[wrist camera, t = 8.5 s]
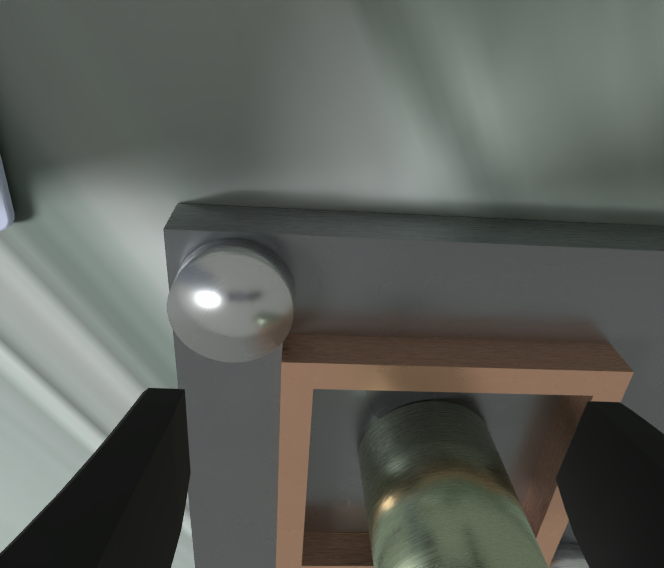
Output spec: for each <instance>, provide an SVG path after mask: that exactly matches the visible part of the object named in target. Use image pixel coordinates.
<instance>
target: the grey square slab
mask: <svg viewBox="0 0 664 568" xmlns="http://www.w3.org/2000/svg"><path fill="white" fill-rule="evenodd" d="M164 240H165V251H166V261H167V272H168V282H169V295H168V300H167V313H168V318H169V321H170V324H171V326H172V328H173V336H174V346H175V357H176V368H177V378H178V389H185V399H186V413H187V427H188V441H189V456H190V470H191V474H190V480H189V486H188V496H189V506H190V517H191V528H192V538H193V549H194V560H195V568H374V565H373V558H372V551H371V544H370V537H369V530H368V523H367V516H366V509H365V502H364V495H363V488H362V481H361V474H360V467H359V459H358V453H359V447H360V444H361V441H362V439H363V437H364V435H365V434H366V433H367V431H368V430H369V429H370V428H371V426H372V425H373V424H374V423H375V422H377V421H378V420H379V419H380V418H382V417H383V416H385V415H386V414H388V413H390V412H392V411H393V410H395V409H398V408H400V407H403V406H406V405H409V404H413V403H418V402H425V401H445V402H451V403H456V404H459V405H462V406H465V407H467V408H469V409H470V410H472V411H474V412H475V413H476V414H478V415H479V416H480V417H481V418H482V419H483V421H484V422H485V424H486V426H487V428H488V430H489V432H490V434H491V437H492V439H493V441H494V444H495V446H496V448H497V451H498V453H499V455H500V457H501V460H502V462H503V464H504V467H505V469H506V471H507V474H508V476H509V478H510V480H511V483H512V485H513V487H514V490H515V492H516V494H517V496H518V499H519V501H520V503H521V506H522V508H523V510H524V513H525V515H526V517H527V519H528V522H529V524H530V526H531V529H532V531H533V533H534V536H535V538H536V540H537V542H538V545H539V547H540V549H541V552H542V554H543V556H544V558H545V561H546V563H547V565H548V568H589V566H588V564H587V562H586V560H585V558H584V555H583V553H582V551H581V549H580V547H579V545H578V542H577V540H576V538H575V536H574V534H573V531H572V528H571V525H570V522H569V519H568V516H567V514H566V511H565V508H564V505H563V501H562V498H561V495H560V492H559V488H558V485H557V482H556V477H557V474H558V472H559V469H560V467H561V464H562V462H563V460H564V457H565V455H566V452H567V450H568V448H569V445H570V443H571V440H572V438H573V435H574V433H575V431H576V428H577V426H578V423H579V421H580V419H581V416H582V414H583V411H584V409H585V407H586V404H587V402H588V401H599V402H620V403H622V404H623V405H625V406H626V407H628V408H629V409H631V410H632V411H634V412H635V413H636V414H638V415H639V416H640V417H642V418H643V419H645V420H646V421H647V422H649V423H650V424H651V425H653V426H654V427H655V428H657V429H658V430H659V431H661V432H662V433H663V434H664V226H643V225H622V224H601V223H580V222H559V221H538V220H517V219H496V218H475V217H454V216H433V215H412V214H391V213H370V212H349V211H328V210H307V209H286V208H265V207H244V206H223V205H202V204H181V203H178V204H177V206H176V207H175V209H174V211H173V213H172V215H171V216H170V218H169V220H168V222H167V224H166V225H165V227H164Z"/></svg>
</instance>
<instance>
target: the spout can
mask: <svg viewBox="0 0 664 568" xmlns="http://www.w3.org/2000/svg"><path fill="white" fill-rule="evenodd" d="M358 459H359V467H360V474H361V481H362V488H363V495H364V502H365V509H366V516H367V523H368V530H369V537H370V544H371V551H372V558H373V565H374V568H548V565H547V563H546V561H545V558H544V556H543V554H542V552H541V549H540V547H539V545H538V542H537V540H536V538H535V536H534V533H533V531H532V529H531V526H530V524H529V522H528V519H527V517H526V515H525V513H524V510H523V508H522V506H521V503H520V501H519V499H518V496H517V494H516V492H515V490H514V487H513V485H512V483H511V480H510V478H509V476H508V474H507V471H506V469H505V467H504V464H503V462H502V460H501V457H500V455H499V453H498V451H497V448H496V446H495V444H494V441H493V439H492V437H491V434H490V432H489V430H488V428H487V426H486V424H485V422H484V421H483V419H482V418H481V417H480V416H479V415H478V414H476V413H475V412H474V411H472V410H470V409H469V408H467V407H465V406H462V405H459V404H456V403H451V402H445V401H425V402H418V403H413V404H409V405H406V406H403V407H400V408H398V409H395V410H393V411H392V412H390V413H388V414H386V415H385V416H383V417H382V418H380V419H379V420H378V421H377V422H375V423H374V424H373V425H372V426H371V428H370V429H369V430H368V431H367V433H366V434H365V435H364V437H363V439H362V441H361V444H360V447H359V453H358Z"/></svg>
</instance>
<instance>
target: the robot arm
mask: <svg viewBox="0 0 664 568" xmlns="http://www.w3.org/2000/svg"><path fill="white" fill-rule="evenodd" d="M14 219H15V214H14V209H13V205H12V201H11V197H10V193H9V188H8V184H7V180H6V176H5V172H4V167H3V163H2V159H1V155H0V231H3V230H5V229H6V228H8V227H9V226H10V225H11V224H12V223H13V221H14ZM190 474H191V470H190V456H189V441H188V427H187V413H186V399H185V389H163V388H148V389H147V390H146V391H144V392H143V393H142V394H141V396H140V397H139V398H138V399H137V401H136V402H135V403H134V405H133V406H132V407H131V408H130V410H129V411H128V412H127V414H126V415H125V416H124V417H123V419H122V420H121V421H120V422H119V424H118V425H117V426H116V427H115V429H114V430H113V431H112V432H111V433H110V435H109V436H108V437H107V438H106V439H105V441H104V442H103V443H102V444H101V445H100V447H99V448H98V449H97V450H96V451H95V453H94V454H93V455H92V456H91V457H90V458H89V459H88V461H87V462H86V463H85V464H84V465H83V466H82V467H81V469H80V470H79V471H78V472H77V473H76V474H75V475H74V476H73V478H72V479H71V480H70V481H69V482H68V483H67V484H66V486H65V487H64V488H63V489H62V490H61V491H60V492H59V493H58V494H57V495H56V497H55V498H54V499H53V500H52V501H51V502H50V503H49V504H48V505H47V506H46V507H45V508H44V509H43V510H42V511H41V512H40V513H39V514H38V515H37V516H36V517H35V518H34V519H33V520H32V521H31V522H30V524H29V525H28V526H27V527H26V528H25V529H24V530H23V531H22V532H21V533H20V534H19V535H18V536H17V537H16V538H15V539H14V540H13V541H12V542H11V543H10V544H9V545H8V546H7V547H6V548H5V549H4V550H3V551H2V552H1V553H0V568H171V565H172V561H173V558H174V554H175V551H176V547H177V543H178V540H179V536H180V532H181V527H182V522H183V516H184V510H185V505H186V498H187V492H188V486H189V480H190ZM556 482H557V485H558V488H559V492H560V495H561V498H562V501H563V505H564V508H565V511H566V514H567V516H568V519H569V522H570V525H571V528H572V531H573V534H574V536H575V538H576V540H577V542H578V545H579V547H580V549H581V551H582V553H583V555H584V558H585V560H586V562H587V564H588V566H589V568H664V434H663V433H662V432H661V431H659V430H658V429H657V428H655V427H654V426H653V425H651V424H650V423H649V422H647V421H646V420H645V419H643V418H642V417H640V416H639V415H638V414H636V413H635V412H634V411H632V410H631V409H629V408H628V407H626V406H625V405H623V404H622V403H620V402H599V401H588V402H587V404H586V407H585V409H584V411H583V414H582V416H581V419H580V421H579V423H578V426H577V428H576V431H575V433H574V435H573V438H572V440H571V443H570V445H569V448H568V450H567V452H566V455H565V457H564V460H563V462H562V464H561V467H560V469H559V472H558V474H557V477H556Z"/></svg>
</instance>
